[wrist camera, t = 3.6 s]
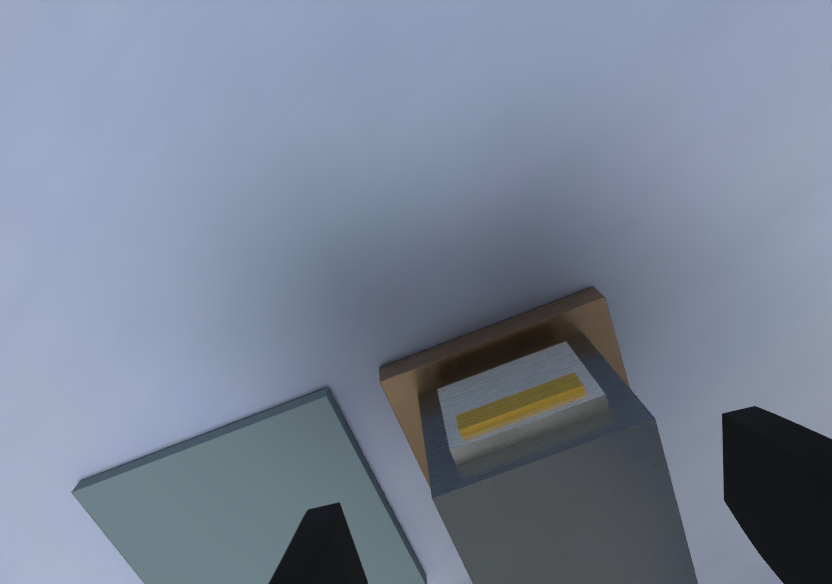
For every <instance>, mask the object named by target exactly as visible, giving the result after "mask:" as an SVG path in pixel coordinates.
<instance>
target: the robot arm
mask: <svg viewBox="0 0 832 584" xmlns="http://www.w3.org/2000/svg"><path fill="white" fill-rule="evenodd" d="M722 429H723V474H724V501H725V503H726V504H727V506H728V507H729V509H730V510H731V512H732V514H733V515H734V517H735V518H736V520H737V521H738V523H739V524H740V526H741V528H742V529H743V531H744V532H745V534H746V535H747V537H748V538H749V540H750V541H751V542H752V544H753V545H754V547H755V548H756V550H757V551H758V553H759V554H760V555H761V557H762V558H763V559H764V560H765V561H766V563H767V564H768V565H769V566H770V568H771V569H772V570H773V571H774V572H775V574H776V575H777V576H778V577H779V579H780V580H781V581H782V582H783V583H784V584H832V439H830V438H828V437H826V436H823V435H821V434H819V433H817V432H814V431H812V430H810V429H808V428H805V427H803V426H801V425H799V424H796V423H794V422H792V421H790V420H787V419H785V418H783V417H780V416H778V415H776V414H773V413H771V412H769V411H766V410H764V409H761V408H759V407H756V406H753V407H749V408H745V409H740V410H736V411H732V412H727V413H723V414H722ZM268 584H368V581H367V578H366V575H365V572H364V569H363V567H362V564H361V561H360V558H359V555H358V552H357V550H356V547H355V544H354V541H353V538H352V535H351V533H350V530H349V527H348V524H347V521H346V518H345V516H344V513H343V510H342V507H341V504H340V502H338V503H334V504H329V505H325V506H321V507H316V508H312V509H308V510H307V512H306V513H305V515H304V516H303V518H302V520H301V522H300V524H299V526H298V528H297V530H296V532H295V534H294V536H293V538H292V540H291V542H290V543H289V545H288V547H287V549H286V551H285V553H284V555H283V557H282V559H281V561H280V563H279V565H278V566H277V568H276V570H275V572H274V574H273V576H272V578H271V580H270V581H269V583H268Z"/></svg>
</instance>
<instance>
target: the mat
mask: <svg viewBox="0 0 832 584" xmlns="http://www.w3.org/2000/svg"><path fill="white" fill-rule="evenodd" d="M71 493H72V494H73V495H74V497H75V498H76V499H77V500H78V502H79V503H80V504H81V505H82V507H83V508H84V509H85V510H86V512H87V513H88V514H89V515H90V516H91V518H92V519H93V520H94V521H95V523H96V524H97V525H98V526H99V528H100V529H101V530H102V531H103V533H104V534H105V535H106V536H107V538H108V539H109V540H110V541H111V543H112V544H113V545H114V546H115V548H116V549H117V550H118V551H119V553H120V554H121V555H122V556H123V558H124V559H125V560H126V561H127V563H128V564H129V565H130V566H131V568H132V569H133V570H134V571H135V573H136V574H137V575H138V576H139V578H140V579H141V580H142V581H143V583H144V584H268V583H269V581H270V580H271V578H272V576H273V574H274V572H275V570H276V568H277V566H278V565H279V563H280V561H281V559H282V557H283V555H284V553H285V551H286V549H287V547H288V545H289V543H290V542H291V540H292V538H293V536H294V534H295V532H296V530H297V528H298V526H299V524H300V522H301V520H302V518H303V516H304V515H305V513H306V512H307V510H308V509H312V508H316V507H321V506H325V505H329V504H334V503H338V502H340V504H341V507H342V510H343V513H344V516H345V518H346V521H347V524H348V527H349V530H350V533H351V535H352V538H353V541H354V544H355V547H356V550H357V552H358V555H359V558H360V561H361V564H362V567H363V569H364V572H365V575H366V578H367V581H368V584H427V579H426V575H425V573H424V571H423V569H422V567H421V565H420V563H419V561H418V559H417V557H416V555H415V553H414V552H413V550H412V548H411V546H410V544H409V542H408V540H407V538H406V536H405V534H404V532H403V530H402V529H401V527H400V525H399V523H398V521H397V519H396V517H395V515H394V513H393V511H392V509H391V507H390V506H389V504H388V502H387V500H386V498H385V496H384V494H383V492H382V490H381V488H380V486H379V484H378V483H377V481H376V479H375V477H374V475H373V473H372V471H371V469H370V467H369V465H368V463H367V461H366V460H365V458H364V456H363V454H362V452H361V450H360V448H359V446H358V444H357V442H356V440H355V438H354V437H353V435H352V433H351V431H350V429H349V427H348V425H347V423H346V421H345V419H344V417H343V415H342V414H341V412H340V410H339V408H338V406H337V404H336V402H335V400H334V398H333V396H332V394H331V392H330V391H329V389H328V387H327V388H325V389H322V390H319V391H317V392H314V393H311V394H309V395H306V396H303V397H301V398H298V399H296V400H293V401H290V402H288V403H285V404H282V405H280V406H277V407H274V408H272V409H269V410H266V411H264V412H261V413H259V414H256V415H253V416H251V417H248V418H245V419H243V420H240V421H237V422H235V423H232V424H230V425H227V426H224V427H222V428H219V429H216V430H214V431H211V432H208V433H206V434H203V435H201V436H198V437H195V438H193V439H190V440H187V441H185V442H182V443H179V444H177V445H174V446H171V447H169V448H166V449H164V450H161V451H158V452H156V453H153V454H150V455H148V456H145V457H142V458H140V459H137V460H135V461H132V462H129V463H127V464H124V465H121V466H119V467H116V468H113V469H111V470H108V471H105V472H103V473H100V474H98V475H95V476H92V477H90V478H87V479H84V480H82V481H80V482H79V483H78V484H77V486H76V487H75V488H74V490H73V491H72V492H71Z"/></svg>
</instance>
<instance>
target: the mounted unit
mask: <svg viewBox="0 0 832 584" xmlns="http://www.w3.org/2000/svg"><path fill="white" fill-rule="evenodd" d="M379 371H380V384H381V386H382V388H383V390H384V392H385V394H386V396H387V398H388V400H389V403H390V405H391V407H392V409H393V411H394V413H395V415H396V417H397V419H398V421H399V424H400V426H401V428H402V430H403V432H404V434H405V436H406V438H407V440H408V442H409V445H410V447H411V449H412V451H413V453H414V455H415V457H416V459H417V461H418V463H419V465H420V468H421V470H422V472H423V474H424V476H425V478H426V480H427V482H428V484H429V486H430V489H431V494H432V499H433V501H434V503H435V505H436V508H437V510H438V512H439V514H440V516H441V518H442V520H443V522H444V524H445V526H446V528H447V531H448V533H449V535H450V537H451V539H452V541H453V543H454V545H455V547H456V549H457V551H458V553H459V556H460V558H461V560H462V562H463V564H464V566H465V568H466V570H467V572H468V574H469V576H470V578H471V581H472V583H473V584H698V582H697V579H696V575H695V571H694V567H693V563H692V559H691V555H690V552H689V548H688V544H687V540H686V536H685V532H684V528H683V525H682V521H681V517H680V513H679V509H678V505H677V501H676V498H675V494H674V490H673V486H672V482H671V478H670V474H669V471H668V467H667V463H666V459H665V455H664V451H663V447H662V444H661V440H660V436H659V432H658V428H657V424H656V420H655V418H654V417H653V415H652V414H651V413H650V412H649V411H648V409H647V408H646V407H645V406H644V405H643V404H642V402H641V401H640V400H639V399H638V398H637V396H636V395H635V394H634V393H633V392H632V390H631V389H630V388H629V384H628V380H627V377H626V373H625V369H624V366H623V362H622V358H621V355H620V351H619V347H618V344H617V340H616V336H615V333H614V329H613V325H612V322H611V318H610V314H609V311H608V307H607V304H606V300H605V297H604V296H603V295H602V294H601V293H600V292H599V291H598V290H596V289H595V288H594V287H591V288H588V289H586V290H583V291H581V292H578V293H575V294H573V295H570V296H567V297H565V298H562V299H559V300H557V301H554V302H551V303H549V304H546V305H544V306H541V307H538V308H536V309H533V310H530V311H528V312H525V313H522V314H520V315H517V316H515V317H512V318H509V319H507V320H504V321H501V322H499V323H496V324H493V325H491V326H488V327H486V328H483V329H480V330H478V331H475V332H472V333H470V334H467V335H464V336H462V337H459V338H456V339H454V340H451V341H449V342H446V343H443V344H441V345H438V346H435V347H433V348H430V349H427V350H425V351H422V352H420V353H417V354H414V355H412V356H409V357H406V358H404V359H401V360H398V361H396V362H393V363H391V364H388V365H385V366H383V367H380V368H379Z"/></svg>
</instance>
